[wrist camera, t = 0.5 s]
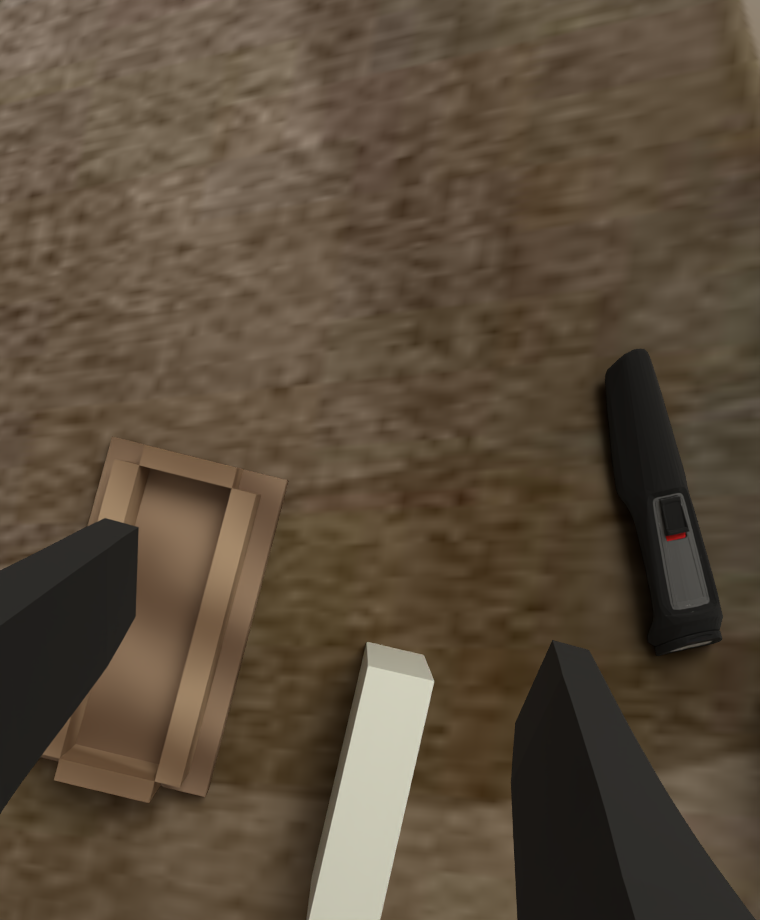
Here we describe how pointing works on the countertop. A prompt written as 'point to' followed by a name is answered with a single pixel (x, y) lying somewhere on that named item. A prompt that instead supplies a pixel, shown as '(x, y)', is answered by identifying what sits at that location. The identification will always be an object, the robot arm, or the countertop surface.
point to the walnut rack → (173, 622)
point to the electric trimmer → (660, 508)
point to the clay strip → (371, 786)
